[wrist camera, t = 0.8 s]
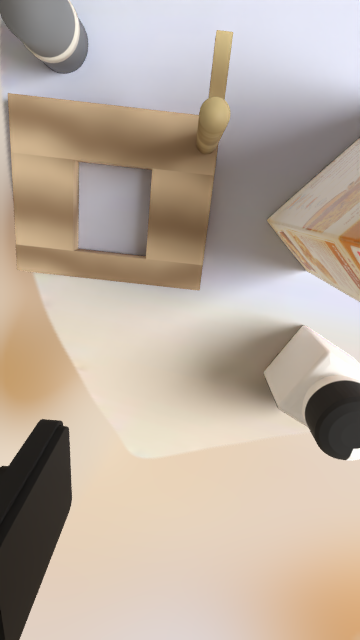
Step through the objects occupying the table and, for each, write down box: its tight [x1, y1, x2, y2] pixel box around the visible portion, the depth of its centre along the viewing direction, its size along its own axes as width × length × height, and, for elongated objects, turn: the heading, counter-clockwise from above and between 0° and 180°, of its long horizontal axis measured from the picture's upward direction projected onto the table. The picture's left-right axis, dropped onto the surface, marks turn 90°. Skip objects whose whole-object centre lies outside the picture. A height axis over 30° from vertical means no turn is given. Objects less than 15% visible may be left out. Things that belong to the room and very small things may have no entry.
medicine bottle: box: [264, 325, 360, 460], centre depth 32 cm, size 7×7×12 cm
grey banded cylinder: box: [0, 0, 88, 73], centre depth 26 cm, size 5×5×6 cm
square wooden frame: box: [8, 30, 233, 290], centre depth 27 cm, size 17×18×12 cm
